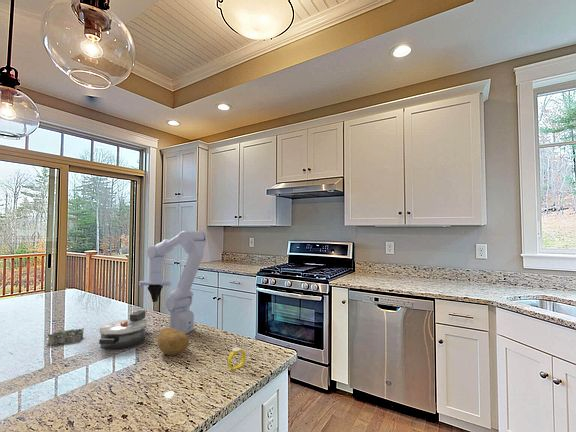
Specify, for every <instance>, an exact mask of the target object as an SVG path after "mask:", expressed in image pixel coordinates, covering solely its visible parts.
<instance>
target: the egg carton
mask: <svg viewBox="0 0 576 432" xmlns="http://www.w3.org/2000/svg"><path fill="white" fill-rule="evenodd" d="M84 329H85V327H82V328H79V329H78V328H76V329H74V328H73V329H69V330H68V329H67V330H63V329H60V330H56V331H55V332H53V333H51V334H47V337H48V340H47V344H48V345H51V346H52V345H56V344H66V343H76V342H80V341H81V339H83V338H84Z"/></svg>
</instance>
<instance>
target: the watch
mask: <svg viewBox="0 0 576 432" xmlns="http://www.w3.org/2000/svg"><path fill="white" fill-rule="evenodd" d="M239 353H241V360H240V362H239V364H238V365H235V366H232V364H231V363H232V358H233V356H234V355H235V354H239ZM245 361H246V353H245V351H244V350H242V348H241V347H239V346H237V347H233V348H232V349H231V352H230V353H229V354H228V357H227V366H228V368H229V369H231V370H233V371H236V370H238V369H240V368H242V367H243V365H244V363H245Z"/></svg>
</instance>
